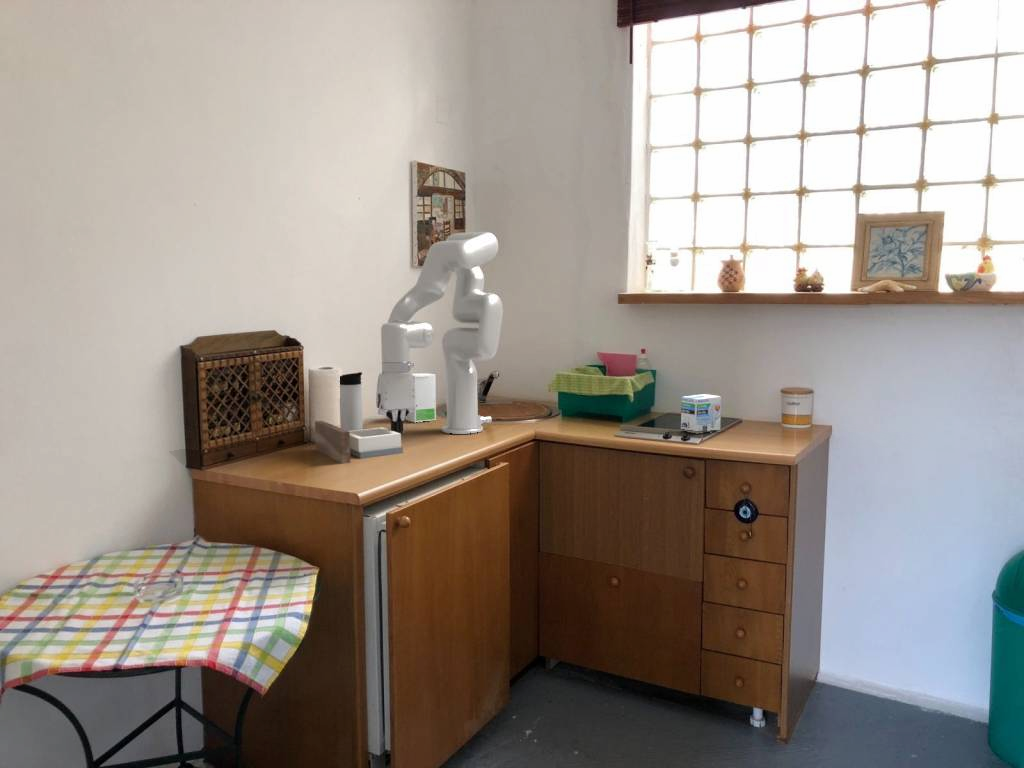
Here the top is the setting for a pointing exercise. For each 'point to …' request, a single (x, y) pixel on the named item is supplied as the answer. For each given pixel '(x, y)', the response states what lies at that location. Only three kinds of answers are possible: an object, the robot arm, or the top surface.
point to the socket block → (374, 442)
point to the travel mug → (351, 402)
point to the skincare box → (424, 398)
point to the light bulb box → (701, 412)
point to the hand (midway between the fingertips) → (397, 434)
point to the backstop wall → (332, 441)
